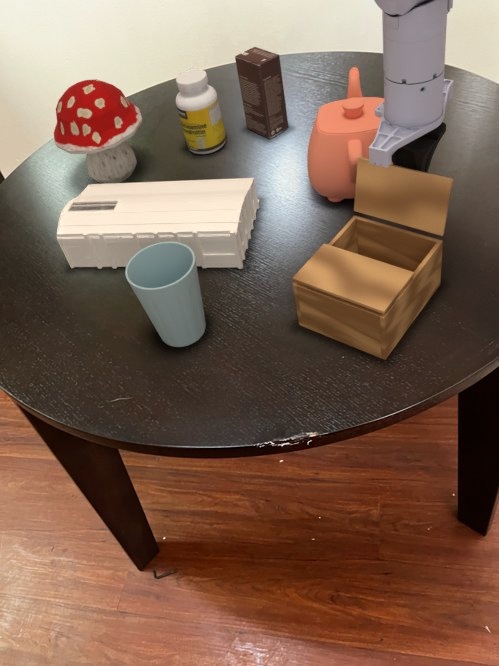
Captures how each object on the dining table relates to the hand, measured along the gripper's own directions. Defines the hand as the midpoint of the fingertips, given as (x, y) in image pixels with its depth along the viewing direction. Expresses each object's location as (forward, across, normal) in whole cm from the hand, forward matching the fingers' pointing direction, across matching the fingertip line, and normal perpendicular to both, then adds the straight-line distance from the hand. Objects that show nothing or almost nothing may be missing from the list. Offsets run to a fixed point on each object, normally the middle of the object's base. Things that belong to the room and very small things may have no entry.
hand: (412, 187), depth 72 cm
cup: (+10, +24, -17) cm, 31 cm away
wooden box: (+10, +10, 0) cm, 14 cm away
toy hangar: (+10, +10, -31) cm, 35 cm away
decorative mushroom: (+10, +2, -50) cm, 51 cm away
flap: (-1, +3, 0) cm, 3 cm away
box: (+10, -18, -34) cm, 40 cm away
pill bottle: (+10, -10, -41) cm, 43 cm away
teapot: (+10, -11, -14) cm, 20 cm away
